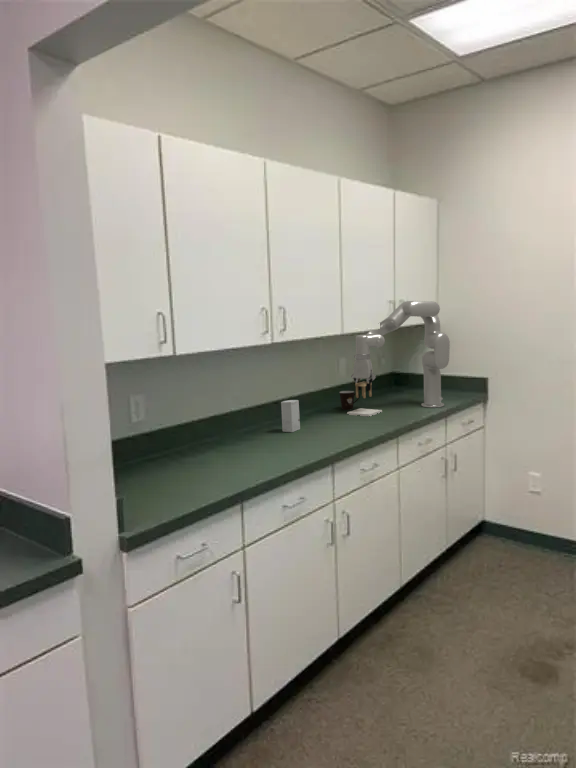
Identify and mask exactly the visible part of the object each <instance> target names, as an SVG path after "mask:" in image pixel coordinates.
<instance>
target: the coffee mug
mask: <svg viewBox="0 0 576 768" xmlns="http://www.w3.org/2000/svg"><path fill="white" fill-rule="evenodd" d="M355 396H356V392H355V391H354V390H341V391H339V398H340V405H341V410H342V409H343V411H351V410H350V409H352V410H353V409H354V404H355V403H356V402H357V401H359V399H360V398H361V397H360V393H358V398H357V399H356V400H354V399H355Z"/></svg>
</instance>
